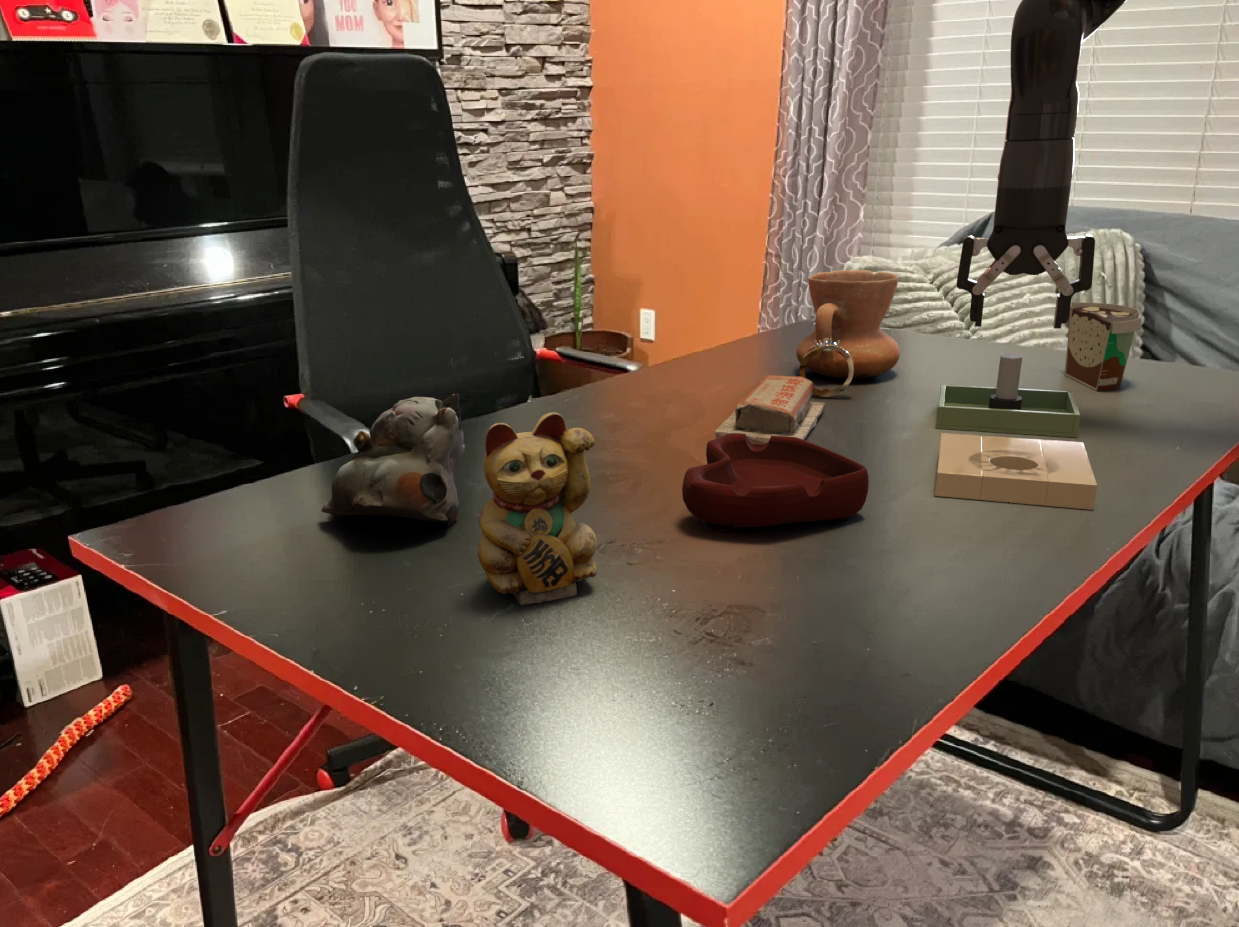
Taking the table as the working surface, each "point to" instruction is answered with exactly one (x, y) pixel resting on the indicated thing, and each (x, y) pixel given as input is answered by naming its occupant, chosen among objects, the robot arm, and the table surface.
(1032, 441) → the sink deck
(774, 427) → the packaged product
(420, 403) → the lucky cat figurine
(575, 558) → the decorative figurine
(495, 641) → the table surface
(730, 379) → the table surface
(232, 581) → the table surface
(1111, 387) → the food container
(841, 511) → the ashtray
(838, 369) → the ceramic jug
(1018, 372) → the plug
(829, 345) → the ring
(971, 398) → the tray
